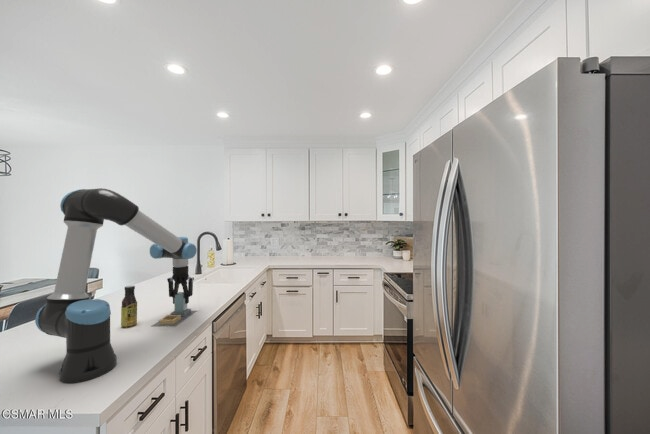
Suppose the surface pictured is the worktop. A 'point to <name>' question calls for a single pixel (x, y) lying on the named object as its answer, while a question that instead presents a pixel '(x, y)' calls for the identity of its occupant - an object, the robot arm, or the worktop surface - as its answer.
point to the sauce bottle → (129, 308)
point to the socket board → (173, 319)
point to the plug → (179, 302)
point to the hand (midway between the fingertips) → (181, 309)
